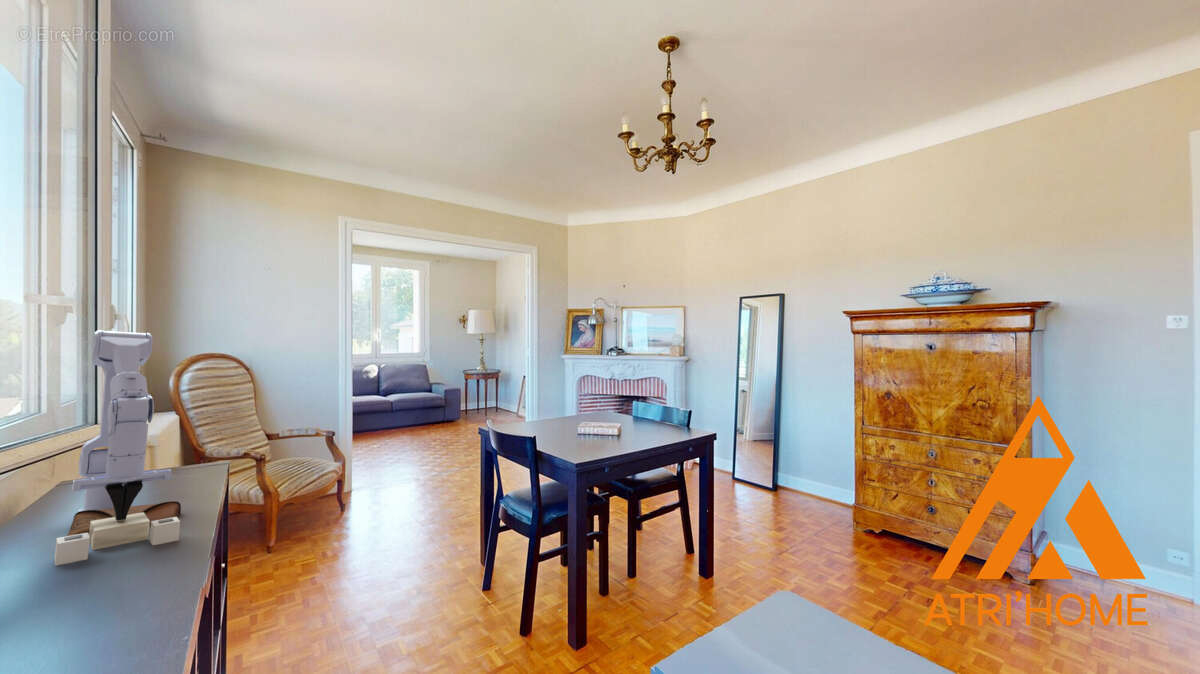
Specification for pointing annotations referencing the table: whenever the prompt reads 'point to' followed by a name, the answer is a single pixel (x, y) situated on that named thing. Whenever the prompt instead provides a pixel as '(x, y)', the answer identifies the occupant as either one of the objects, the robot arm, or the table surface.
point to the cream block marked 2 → (164, 530)
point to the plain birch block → (118, 531)
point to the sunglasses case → (151, 511)
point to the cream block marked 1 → (72, 548)
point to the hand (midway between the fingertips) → (120, 518)
